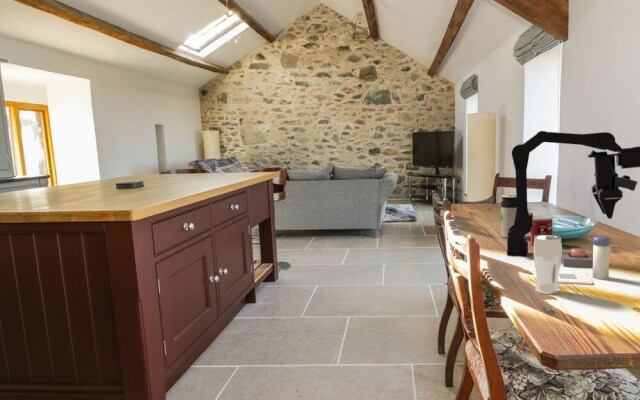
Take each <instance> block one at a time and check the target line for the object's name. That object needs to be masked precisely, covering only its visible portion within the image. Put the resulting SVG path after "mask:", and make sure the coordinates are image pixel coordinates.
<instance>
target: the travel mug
mask: <svg viewBox="0 0 640 400" xmlns="http://www.w3.org/2000/svg"><path fill="white" fill-rule="evenodd" d="M501 197H502V200H501V202H500V220H501V221H500V224H501V227H500V228H501V230H500V233H501V237H502V238H504V239H507V236H508V229H509V228H510V227H512V226H513V225H514V220H515V214H516V209H517V204H516V193H515V194H514V193H512V194H510V193H508V194H502V195H501Z"/></svg>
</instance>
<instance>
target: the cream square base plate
mask: <svg viewBox="0 0 640 400" xmlns="http://www.w3.org/2000/svg"><path fill="white" fill-rule="evenodd" d="M558 284H569V285H591V286H592V285H594V283H593V281H592V280H591V278H590V277H589V276H588V275H587V273H586V272H585V271H566V270H559V275H558Z"/></svg>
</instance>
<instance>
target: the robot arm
mask: <svg viewBox="0 0 640 400" xmlns="http://www.w3.org/2000/svg"><path fill="white" fill-rule="evenodd" d="M543 143H551V144H553V143H554V144H565V145H566V144H567V145H580V146H584V147H589V148H591V149H593V150H591V152H590V153H589V154H588V155H587V158H589V159H592V158H594V173H593V176H594V179H595V184H594V185H592V186H591V193H592V196H593V197H594V199H595V201H596V203H597V205H598V207H599V209H600V210H601V213H602V214H603V215H605V216H606V218H607V219H608V220H610V219H613V216H614V213H615V212H614V211H615V206H616V203H618V202H619V201H620V200H622V198H623V197H624V195H623V190H621V189H620V188H623V189H628V190H629V191H633V192H634V191H635V189H636V186H637V185H638V181H636V180H634V179H631V177H630V176H629V175H625V174H624V175H623V176H619V174H618V172H616V166H618V167H620V169H621V170H622V169H636V168H640V145H639V146H633V147H625V148H622V147H621V146H620V145H619V144H618V143H617V142H616V138H615V136H614V134H613V133H611V132H608V131H606V132H605V131H603V132H591V133H569V132H557V131H555V132H554V131H545V130H540V131H538V132H536V133H535V134H534V135H533V136H532V137H531V138H529V139H528V140H526V141H525V142H524V143H522V144H521V143H520V144H517V145H515V146H514V147H512V149H511V158H512V160H513V161H512V162H513V166H514V171H515V190H516V191H515V194H516V204H517V209H516V214H515V220H514V225H513V226H512V227H510V228H509V229H508V236H507V238H506V256H512V257H513V256H521V257H522V256H523V257H526V256H528V253H529V242H528V240H527V237H526V236H527V235H528V234H529V233H531V226H532V227H533V222H532V219H533V216H534V214H533V212H529V209H528V183H527V182H528V179H527V175H528V174H527V169H528V165H529V160H530V159H529V158H530V153H532V151H534V150H535V149H537V148H538V147H539V146H540V145H542V144H543ZM594 149H597V150H603V151H595V150H594ZM607 150H608V151H609V152H613V153H608V152H607Z"/></svg>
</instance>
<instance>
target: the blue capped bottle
mask: <svg viewBox="0 0 640 400" xmlns="http://www.w3.org/2000/svg"><path fill="white" fill-rule="evenodd" d="M592 245H593V246H592V251H593V252H592V253H593V267H592V278H593V279H597V280H600V281H603V280H604V281H605V280H609V279H610V276H609V275H610V273H609V271H610V245H611V238H610V237H609V236H604V235H602V236H601V235H599V236H598V235H597V236H593V237H592Z"/></svg>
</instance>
